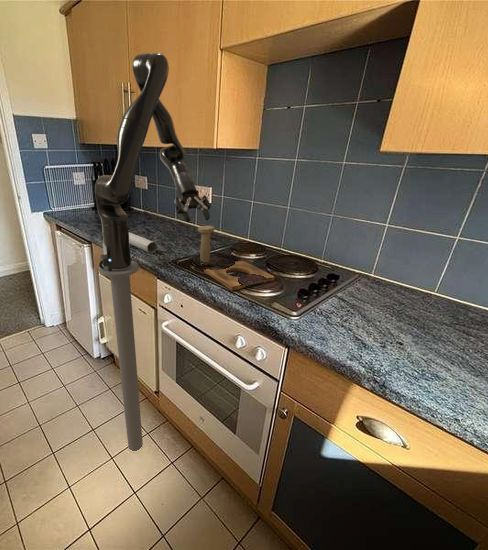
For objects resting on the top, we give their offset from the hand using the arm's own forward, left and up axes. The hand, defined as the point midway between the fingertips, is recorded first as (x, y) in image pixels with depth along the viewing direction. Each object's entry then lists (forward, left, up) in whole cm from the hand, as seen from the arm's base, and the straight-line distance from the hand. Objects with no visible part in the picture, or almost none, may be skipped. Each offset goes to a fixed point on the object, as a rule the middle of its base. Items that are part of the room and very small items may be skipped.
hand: (198, 220), depth 117 cm
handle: (0, -6, -17) cm, 18 cm away
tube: (-16, +28, -17) cm, 37 cm away
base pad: (+5, -21, -17) cm, 27 cm away
